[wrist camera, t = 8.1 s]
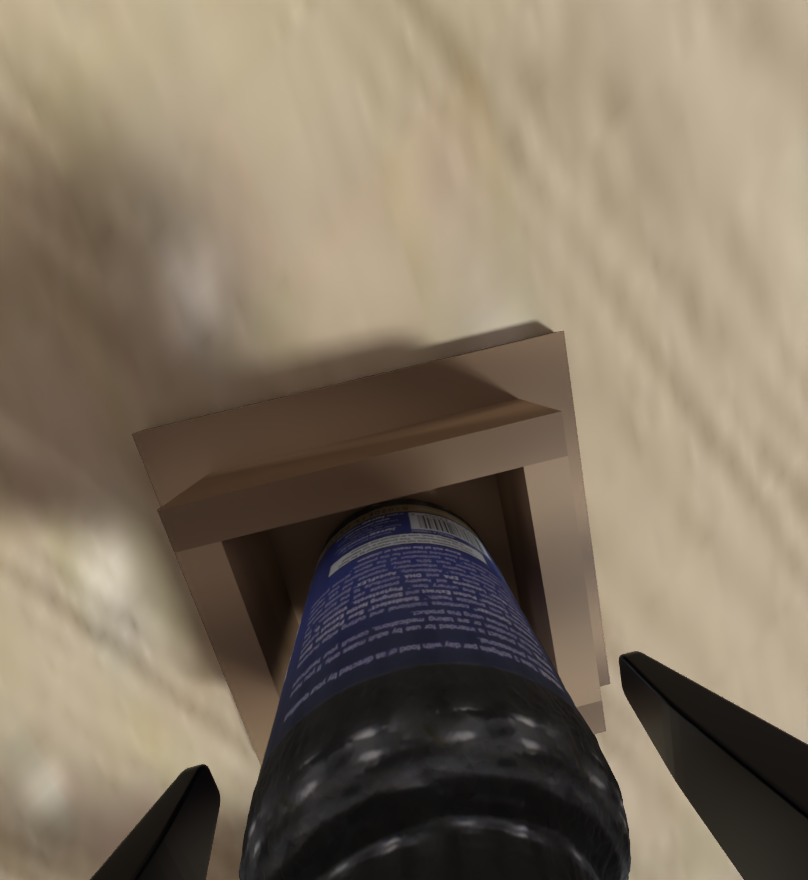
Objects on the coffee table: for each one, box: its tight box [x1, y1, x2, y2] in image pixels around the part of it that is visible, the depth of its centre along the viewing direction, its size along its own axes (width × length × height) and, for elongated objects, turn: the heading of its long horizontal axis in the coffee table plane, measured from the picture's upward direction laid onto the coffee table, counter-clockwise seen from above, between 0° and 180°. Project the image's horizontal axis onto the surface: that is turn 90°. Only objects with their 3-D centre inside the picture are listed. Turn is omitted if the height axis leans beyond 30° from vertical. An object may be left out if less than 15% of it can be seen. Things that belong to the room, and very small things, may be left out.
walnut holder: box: [132, 331, 610, 765], centre depth 13 cm, size 14×14×4 cm
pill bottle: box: [239, 499, 631, 880], centre depth 8 cm, size 6×6×11 cm
